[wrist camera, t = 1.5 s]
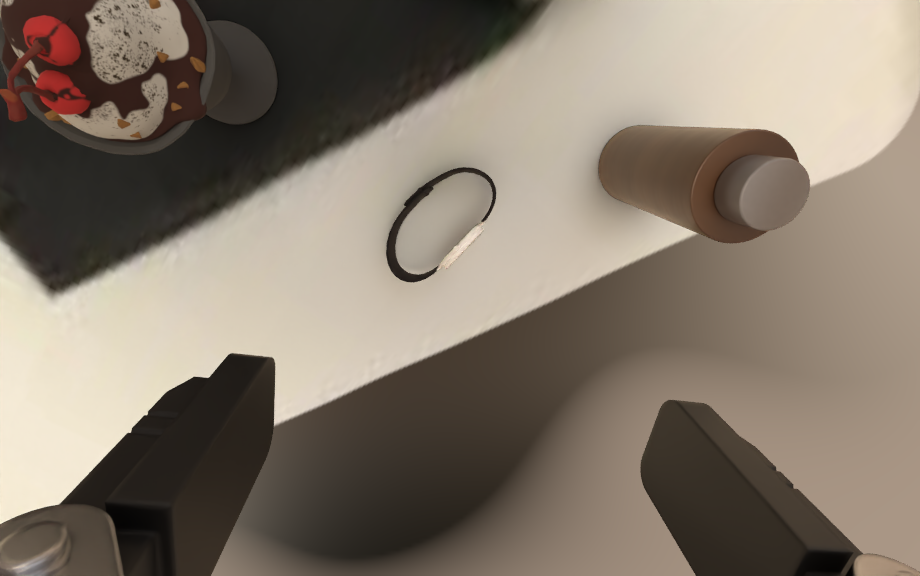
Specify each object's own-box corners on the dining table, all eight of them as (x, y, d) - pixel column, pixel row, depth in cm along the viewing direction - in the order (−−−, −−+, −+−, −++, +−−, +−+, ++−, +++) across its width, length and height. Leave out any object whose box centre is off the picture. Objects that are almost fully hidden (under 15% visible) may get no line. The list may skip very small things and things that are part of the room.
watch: (426, 288, 29) (426, 311, 25) (368, 240, 27) (360, 257, 24) (512, 199, 27) (524, 210, 24) (454, 143, 26) (459, 146, 22)
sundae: (250, 167, 25) (36, 226, 11) (137, 78, 23) (-287, 19, 9) (321, 71, 24) (176, 5, 10) (207, -31, 22) (-170, -292, 8)
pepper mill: (589, 195, 27) (697, 246, 17) (609, 119, 26) (742, 120, 15) (657, 206, 28) (804, 262, 17) (680, 132, 26) (857, 142, 16)
